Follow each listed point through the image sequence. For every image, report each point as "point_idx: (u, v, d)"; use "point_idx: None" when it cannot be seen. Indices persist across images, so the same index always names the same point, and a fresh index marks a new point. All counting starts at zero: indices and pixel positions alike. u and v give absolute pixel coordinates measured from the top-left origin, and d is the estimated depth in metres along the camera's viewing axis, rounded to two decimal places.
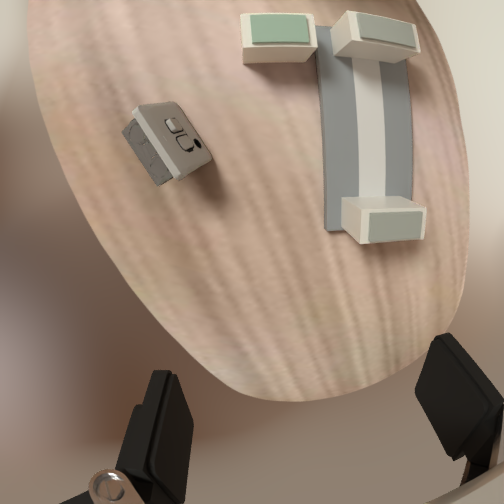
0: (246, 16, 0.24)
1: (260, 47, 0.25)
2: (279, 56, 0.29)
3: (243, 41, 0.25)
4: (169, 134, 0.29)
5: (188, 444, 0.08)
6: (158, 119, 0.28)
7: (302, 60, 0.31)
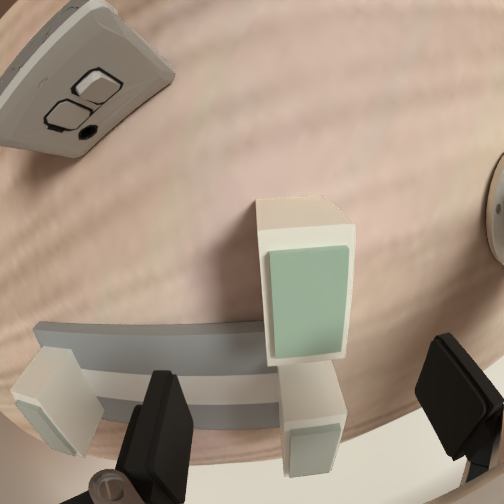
0: (346, 237, 0.13)
1: (260, 268, 0.14)
2: None
3: (275, 231, 0.13)
4: (63, 87, 0.10)
5: (188, 444, 0.08)
6: (92, 55, 0.10)
7: None
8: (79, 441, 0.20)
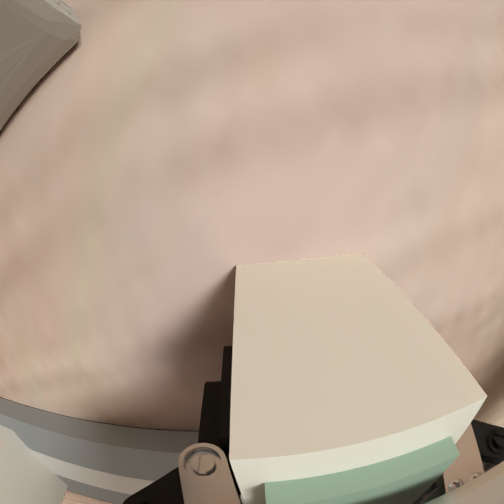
0: (458, 425, 0.04)
1: (243, 494, 0.04)
2: None
3: (284, 459, 0.03)
4: None
5: None
6: None
7: None
8: None
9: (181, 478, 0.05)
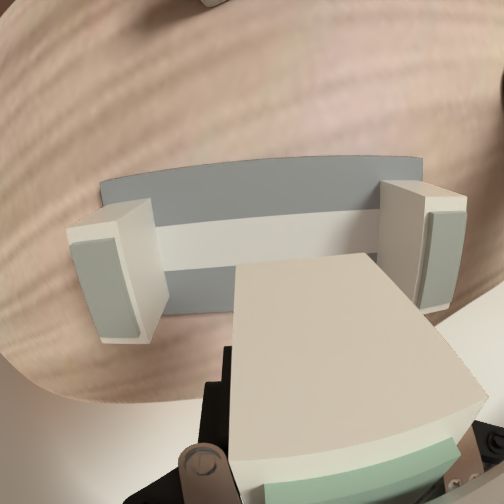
0: (459, 426, 0.04)
1: (242, 496, 0.04)
2: None
3: (284, 460, 0.03)
4: None
5: None
6: None
7: None
8: (146, 315, 0.20)
9: (181, 478, 0.05)
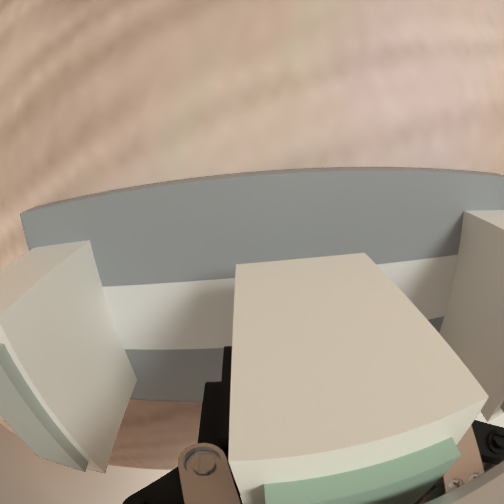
0: (459, 426, 0.04)
1: (242, 495, 0.04)
2: None
3: (284, 460, 0.03)
4: None
5: None
6: None
7: None
8: (93, 439, 0.10)
9: (181, 478, 0.05)
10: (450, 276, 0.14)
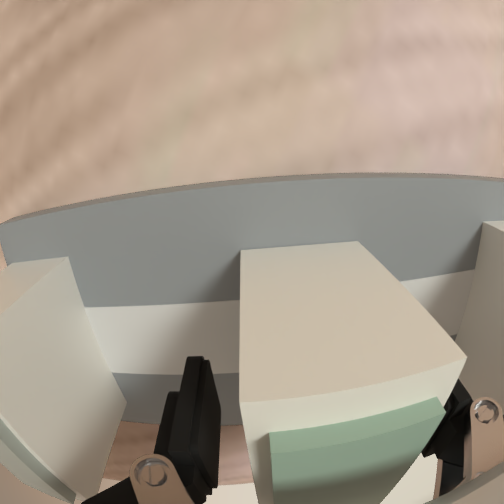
0: (442, 385, 0.05)
1: (248, 450, 0.05)
2: None
3: (287, 402, 0.04)
4: None
5: (218, 429, 0.09)
6: None
7: None
8: (80, 471, 0.08)
9: (135, 491, 0.05)
10: (466, 292, 0.12)
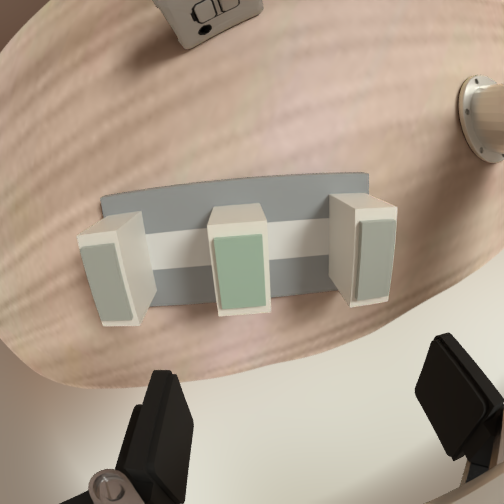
0: (261, 229, 0.22)
1: None
2: None
3: (217, 225, 0.22)
4: None
5: (188, 444, 0.08)
6: None
7: None
8: (138, 303, 0.25)
9: None
10: (326, 230, 0.30)
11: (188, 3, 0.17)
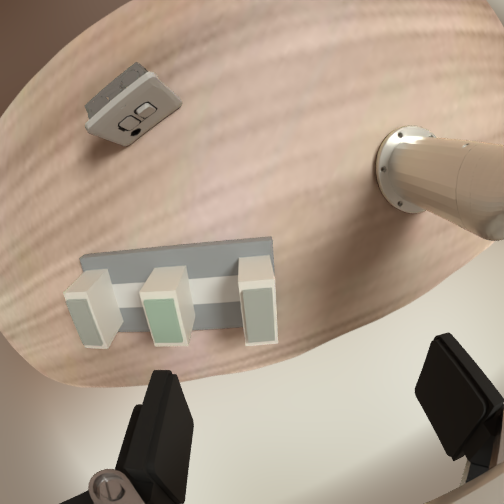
0: (173, 295, 0.32)
1: (143, 305, 0.33)
2: None
3: (145, 292, 0.32)
4: (130, 109, 0.27)
5: (188, 444, 0.08)
6: (146, 96, 0.26)
7: None
8: (106, 334, 0.36)
9: None
10: None
11: (113, 124, 0.27)
